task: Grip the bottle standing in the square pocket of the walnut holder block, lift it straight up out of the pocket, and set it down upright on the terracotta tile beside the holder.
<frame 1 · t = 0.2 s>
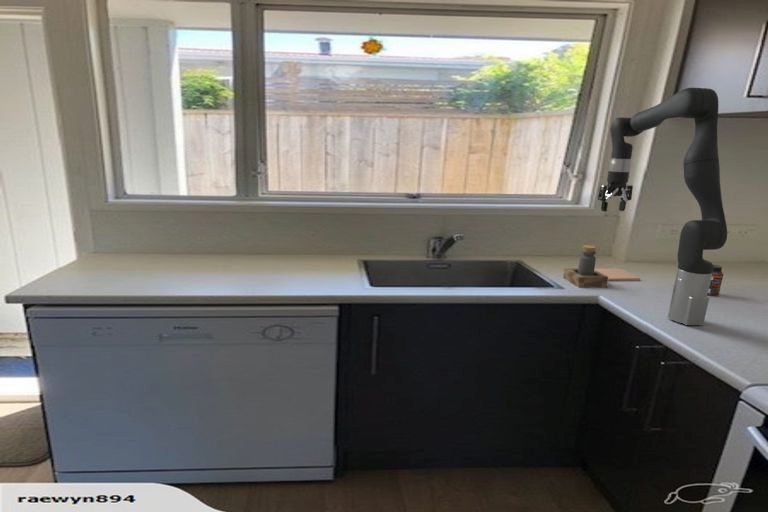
hand: (612, 211, 184), 29 cm above the countertop, tool pointing down, fingers open, 8 cm apart
supplement bottle: (709, 294, 176), on the countertop
tile: (613, 275, 196), on the countertop
bottle: (584, 282, 186), resting in pocket holder
pocket holder: (584, 282, 186), on the countertop
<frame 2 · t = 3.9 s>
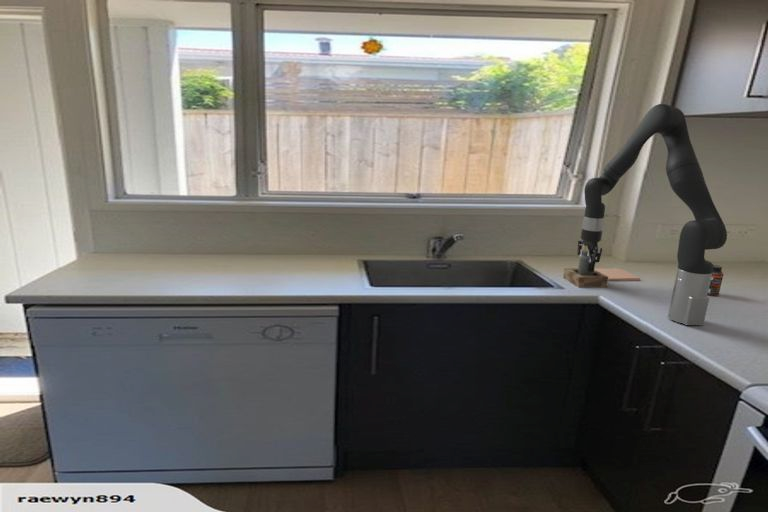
hand: (586, 268, 185), 6 cm above the countertop, tool pointing down, fingers closed on bottle, 5 cm apart
bottle: (584, 282, 186), resting in pocket holder, touching gripper
everything else where it was.
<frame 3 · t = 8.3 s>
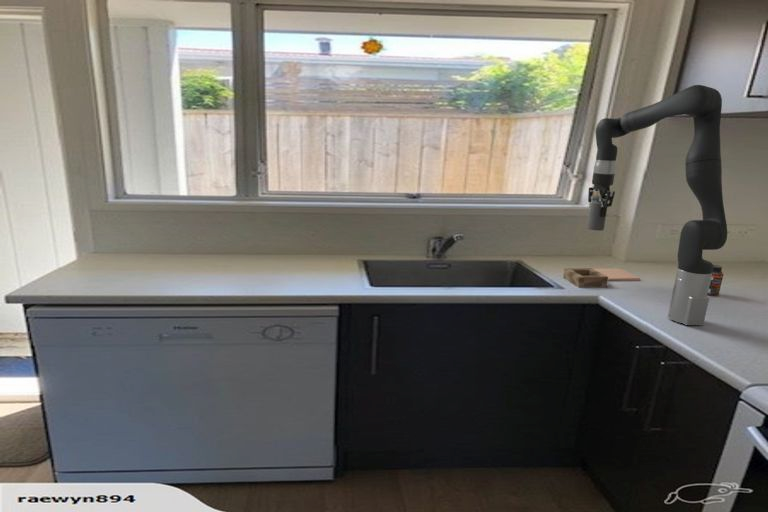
hand: (597, 215, 180), 27 cm above the countertop, tool pointing down, fingers closed on bottle, 5 cm apart
bottle: (595, 229, 182), point 22 cm above the countertop, touching gripper
everything else where it was.
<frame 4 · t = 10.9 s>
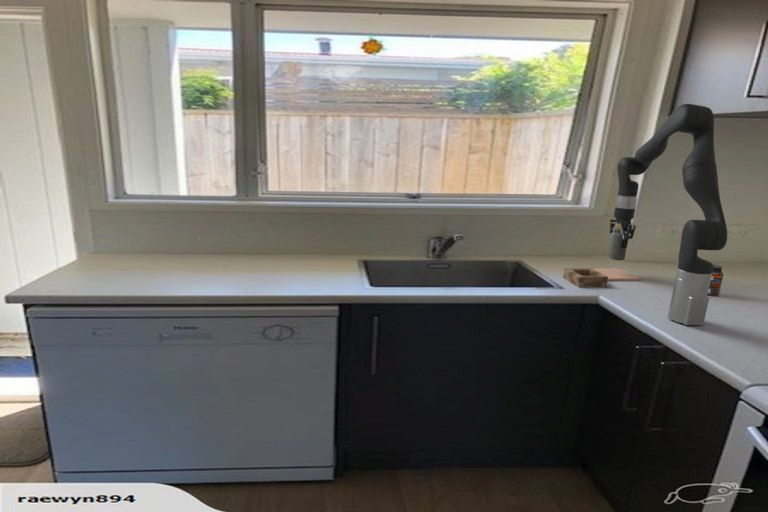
hand: (618, 246, 192), 13 cm above the countertop, tool pointing down, fingers closed on bottle, 5 cm apart
bottle: (616, 259, 194), point 7 cm above the countertop, touching gripper
everything else where it was.
when the fingers open (8 cm above the countertop, at t = 12.9 s): bottle drops 1 cm, resting on tile.
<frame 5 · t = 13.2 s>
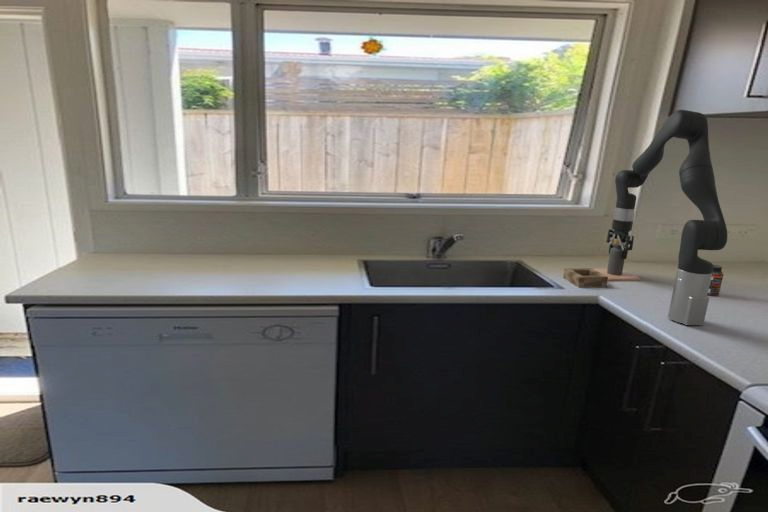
hand: (617, 256, 194), 9 cm above the countertop, tool pointing down, fingers open, 8 cm apart
bottle: (614, 273, 195), point 1 cm above the countertop, touching tile
everything else where it was.
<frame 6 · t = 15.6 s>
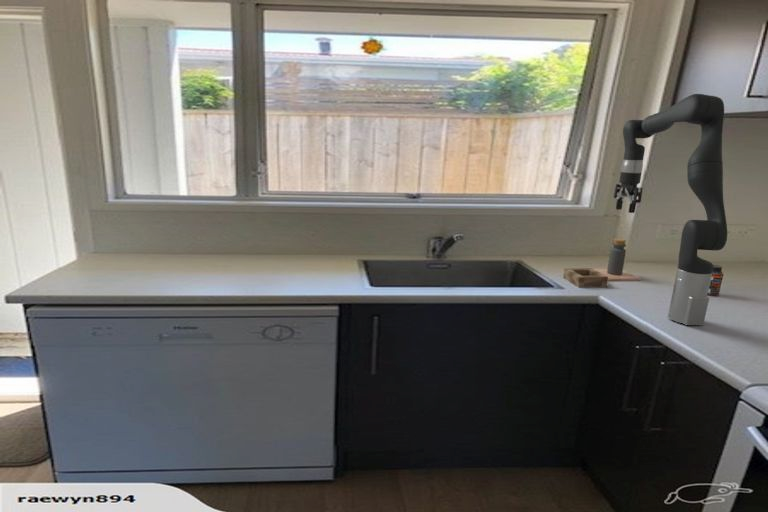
hand: (624, 211, 188), 28 cm above the countertop, tool pointing down, fingers open, 8 cm apart
nothing on the countertop moved.
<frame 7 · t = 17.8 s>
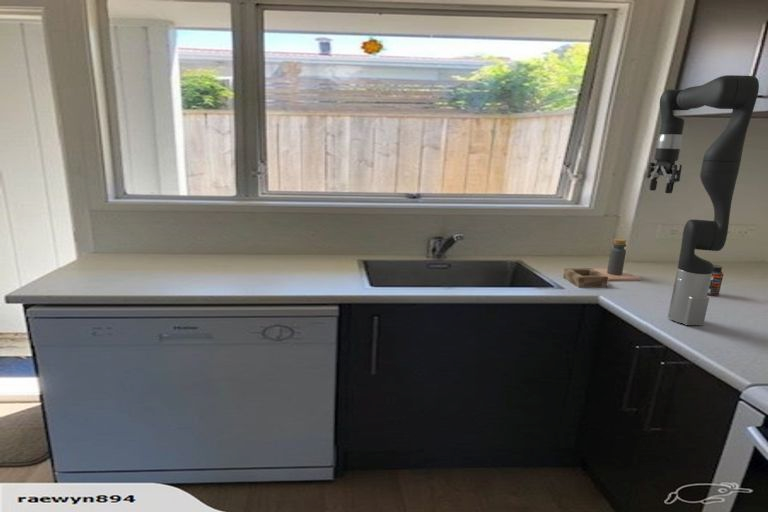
hand: (660, 191, 171), 38 cm above the countertop, tool pointing down, fingers open, 8 cm apart
nothing on the countertop moved.
at the end: bottle inside the target area on the tile (0.1 cm from its centre), point 0.8 cm above the tile's base; bottle tilted 0°; the gripper is holding nothing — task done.
